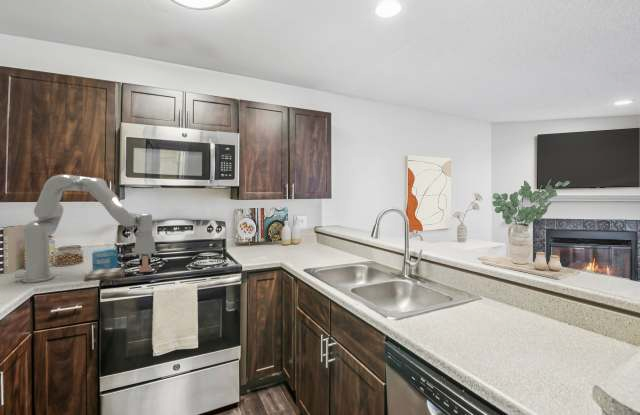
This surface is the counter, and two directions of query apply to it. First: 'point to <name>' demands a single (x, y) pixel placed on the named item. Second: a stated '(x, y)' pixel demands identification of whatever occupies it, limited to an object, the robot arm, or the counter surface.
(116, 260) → the data package
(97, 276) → the ticket pad
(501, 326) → the counter surface
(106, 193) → the robot arm
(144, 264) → the stub
